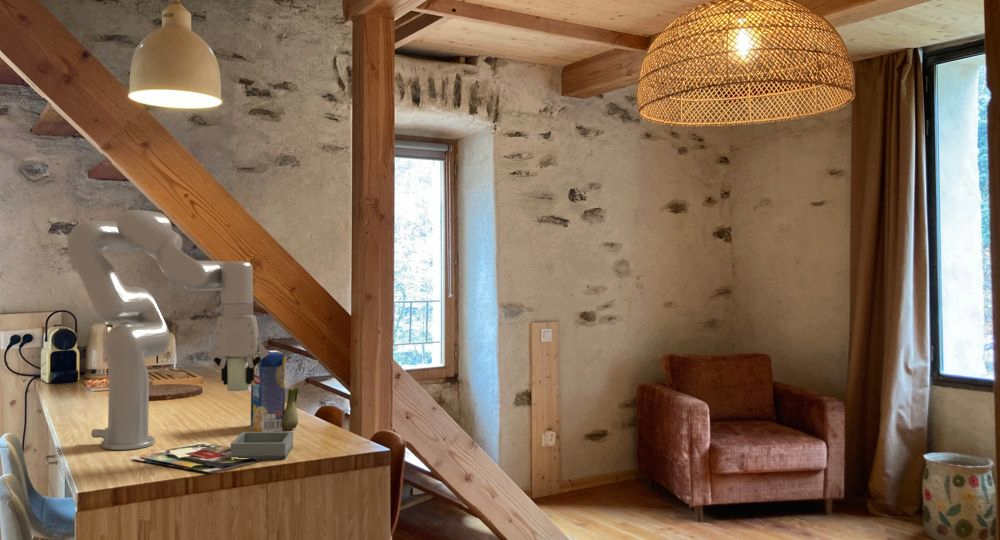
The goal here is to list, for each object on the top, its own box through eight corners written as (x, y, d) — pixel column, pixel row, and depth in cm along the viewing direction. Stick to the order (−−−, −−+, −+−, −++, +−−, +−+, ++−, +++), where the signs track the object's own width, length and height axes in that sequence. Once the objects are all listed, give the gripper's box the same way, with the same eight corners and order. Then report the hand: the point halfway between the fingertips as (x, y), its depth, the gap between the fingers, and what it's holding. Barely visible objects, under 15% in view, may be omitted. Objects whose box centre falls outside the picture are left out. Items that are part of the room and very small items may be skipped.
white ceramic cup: (224, 391, 192) (224, 358, 192) (230, 388, 197) (229, 356, 197) (245, 391, 193) (245, 358, 192) (250, 387, 198) (250, 356, 197)
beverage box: (273, 423, 234) (275, 350, 234) (284, 430, 224) (285, 354, 224) (250, 425, 230) (251, 351, 230) (260, 433, 221) (261, 355, 221)
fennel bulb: (289, 426, 230) (295, 385, 230) (301, 429, 227) (307, 388, 228) (274, 427, 225) (280, 386, 225) (286, 430, 222) (292, 388, 223)
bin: (230, 460, 191) (230, 443, 191) (241, 447, 204) (242, 432, 204) (285, 459, 192) (285, 443, 192) (292, 447, 205) (293, 431, 205)
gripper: (197, 312, 190) (198, 386, 190) (269, 311, 192) (269, 385, 192) (206, 310, 198) (207, 382, 198) (275, 309, 199) (276, 380, 199)
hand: (238, 382), depth 195 cm, fingers closed on white ceramic cup, 5 cm apart
